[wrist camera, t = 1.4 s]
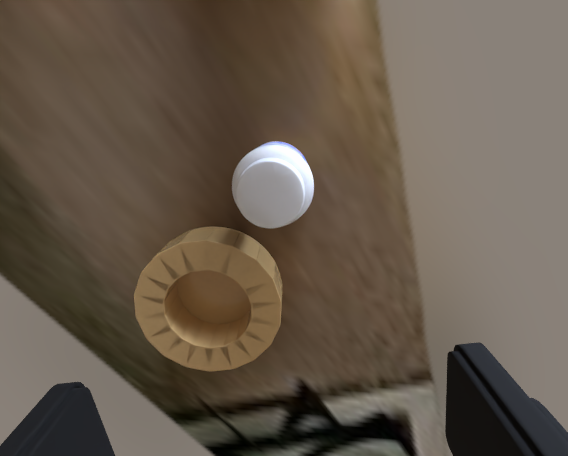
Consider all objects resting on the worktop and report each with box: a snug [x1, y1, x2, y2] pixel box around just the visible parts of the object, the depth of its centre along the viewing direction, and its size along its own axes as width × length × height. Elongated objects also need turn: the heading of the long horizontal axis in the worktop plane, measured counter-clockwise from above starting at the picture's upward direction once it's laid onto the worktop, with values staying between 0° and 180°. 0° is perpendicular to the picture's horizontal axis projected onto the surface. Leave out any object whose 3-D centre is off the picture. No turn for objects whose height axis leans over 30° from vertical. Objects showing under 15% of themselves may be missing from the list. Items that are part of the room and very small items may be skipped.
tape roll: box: [134, 226, 282, 372], centre depth 30 cm, size 12×12×4 cm
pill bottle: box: [232, 141, 314, 228], centre depth 24 cm, size 5×5×10 cm
